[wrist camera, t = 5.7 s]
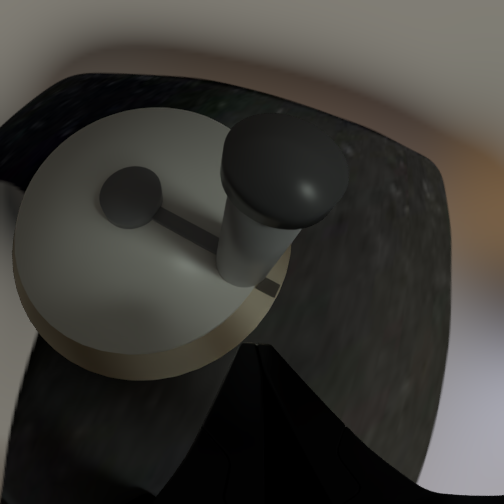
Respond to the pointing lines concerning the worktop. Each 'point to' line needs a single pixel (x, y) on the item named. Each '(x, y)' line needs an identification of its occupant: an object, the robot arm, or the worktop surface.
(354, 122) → the worktop surface
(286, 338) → the worktop surface
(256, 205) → the dial
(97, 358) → the dial base
